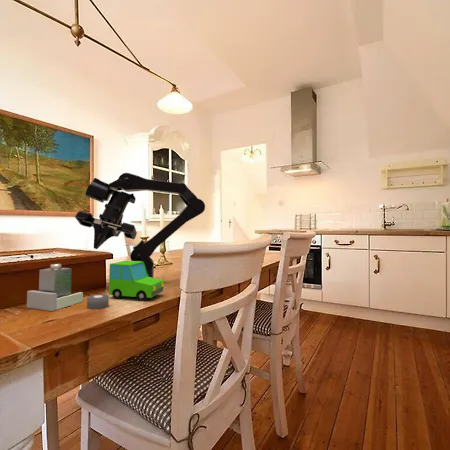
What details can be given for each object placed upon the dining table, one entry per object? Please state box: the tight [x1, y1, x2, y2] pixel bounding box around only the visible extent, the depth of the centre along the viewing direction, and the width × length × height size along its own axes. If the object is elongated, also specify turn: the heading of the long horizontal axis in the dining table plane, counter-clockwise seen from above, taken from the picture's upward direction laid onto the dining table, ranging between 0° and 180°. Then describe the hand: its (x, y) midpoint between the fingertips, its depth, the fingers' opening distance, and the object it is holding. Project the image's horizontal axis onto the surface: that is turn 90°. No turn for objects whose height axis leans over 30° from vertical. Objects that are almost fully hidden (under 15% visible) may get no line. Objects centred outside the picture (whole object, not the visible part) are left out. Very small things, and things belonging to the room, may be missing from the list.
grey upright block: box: [38, 263, 72, 298], centre depth 71 cm, size 5×5×10 cm
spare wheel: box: [86, 293, 110, 310], centre depth 70 cm, size 5×5×3 cm
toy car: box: [108, 260, 164, 302], centre depth 81 cm, size 10×13×10 cm
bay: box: [26, 289, 84, 312], centre depth 71 cm, size 9×8×4 cm
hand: (95, 248), depth 85 cm, fingers closed
